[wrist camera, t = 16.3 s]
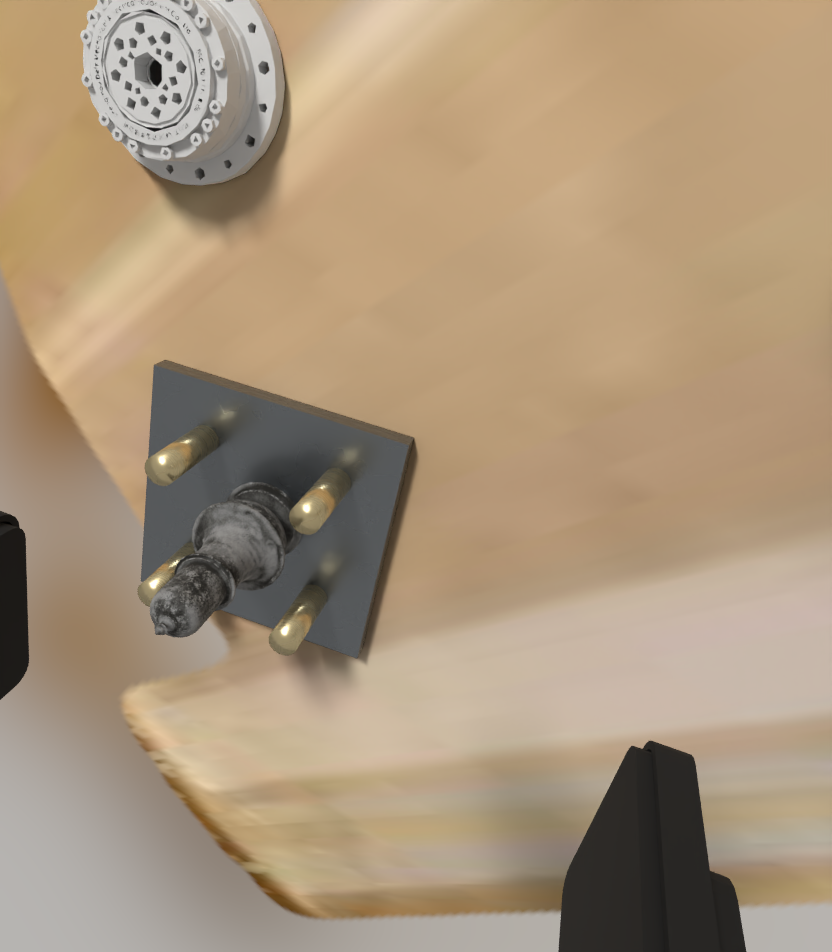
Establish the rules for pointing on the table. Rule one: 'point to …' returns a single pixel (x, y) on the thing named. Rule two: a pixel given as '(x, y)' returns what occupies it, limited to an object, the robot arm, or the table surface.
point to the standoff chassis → (289, 469)
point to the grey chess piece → (227, 557)
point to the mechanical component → (186, 83)
